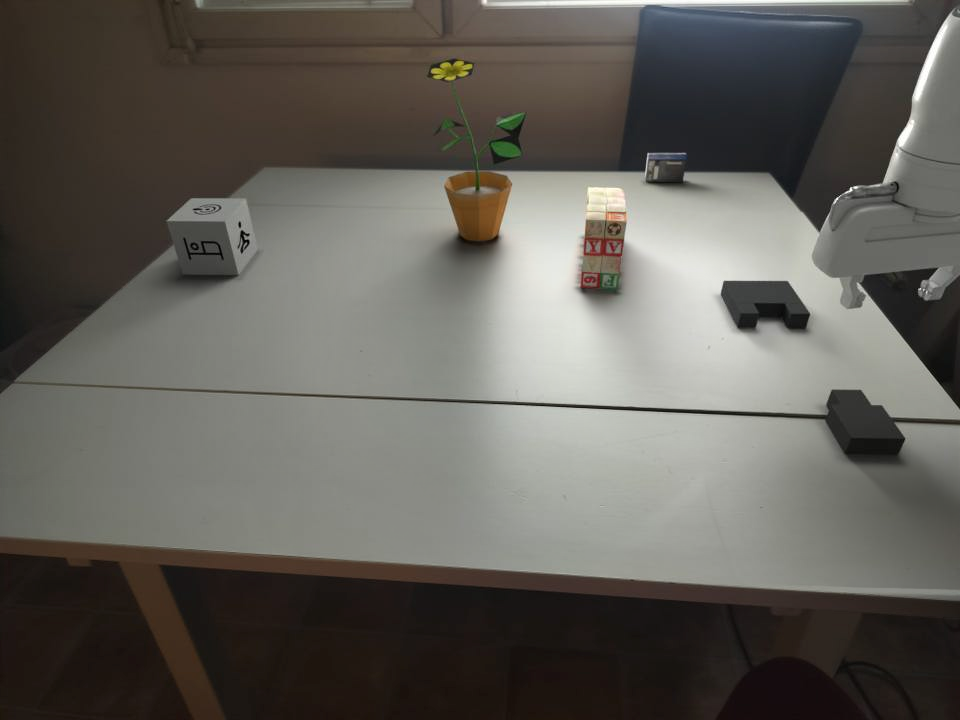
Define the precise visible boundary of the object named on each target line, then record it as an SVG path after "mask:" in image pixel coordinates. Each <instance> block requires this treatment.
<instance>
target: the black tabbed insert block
mask: <svg viewBox="0 0 960 720" xmlns="http://www.w3.org/2000/svg"><path fill="white" fill-rule="evenodd" d="M825 405H826V407H827V409H828V411H827V415H826V418H825V420H824V421H825V422H826V424H827V426H828V427H829V429H830V431H831V433H832V435H833V436H834V438H835V439H836V441H837V443H838V445H839V446H840V447H841V450H842V452H843V454H845V455H882V456H886V455H887V456H888V455H890V456H899V455H900V452H901V450H902V448H903V446H904V443H905V442H906V437H905V435H904V434H903V433H902V431H901V430H900V429H899V427H898V426H897V425H896V423H895V422H894V420H893V418H892V417H891V415H890V414H889V412H887V410H886V408H885V407H884V406H883V404H879V405H878V404H872V403H871V402H870V400H869V399H868V397H867V396H866V395H865V393H864V392H863V390H862V389H834V388H833V389H831V390H830V393H829V396H828V398H827V401H826V404H825Z"/></svg>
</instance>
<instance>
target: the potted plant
mask: <svg viewBox="0 0 960 720" xmlns="http://www.w3.org/2000/svg"><path fill="white" fill-rule="evenodd" d="M474 66H475V62H472V61H468V60H462V59H458V58H451V59H448V60H444V61H440V62H437V63H434V64H433V63H432V64H430V66H429V70H428V72H427V76H426V78H429V79H433V80H436V81H441V82H445V83H449V82H451V85H452V89H453V92H454V98H455V100H456V103H457V106H458V108H459V109H458V110H459V111H460V114H461V117H462V119H463V122H464V124H461V123H458V122H456V121H454V120H452V119H449V118H445V119H444V120H443V121H442V123H441V124H440V125H439V127H438V128H437V130H436V131H435V132H434V133H433V135H432V137H434V136H436V135H438V134H439V133H441V132H442V131H444V130H446V129H447V130H449V132H450V134H451V135H452V136H453V137H454V139H452V140H450V141H449V142H447V143H445V144H444V145H441V147H439V148H437V149H436V150H435V151H433V152H434V153H438V152H444V151H445V150H447V149H449V148H450V147H452V146H454V145H455V144H457V143H458V142H460V141H463V140H469V141H470V144H471V148H472V153H473V157H474V171H464V172H461V173H458V174H454V175H451V176H448V178H447V179H446V181H445V183H444V185H443V188H444V190H445V193H446V196H447V199H448V202H449V205H450V208H451V212H452V215H453V218H454V220H455V223H456V226H457V230H458V232H459V233H458V234H459V235H460V236H461V237H462V238H464V240H466V241H473V242H484V241H489V240H490V241H491V240H493V239H494V238H496V237H497V236H498V235H499V233H500V229H501V225H502V222H503V218H504V215H505V213H506V212H505V211H506V208H507V204H508V201H509V197H510V194H511V190H512V187H513V182H512V181H511V180H510V178H509V177H508V175H506V174H501V173H497V172H494V171H490V170H483V171H481V170H480V171H479V163H478V158H479V157H480V156H481V155H482V154H483V152H484V151H485V150H486V149H487V148H488V146H489V149H490V154H491V158H492V162H493V165H498V164H500V163H503V162H507V161H511V160H513V159H516V158H519V157H523V151H522V146H521V143H520V139H519V137H520V134H521V131H522V128H523V125H524V121H525V118H526V115H527V111H526V112H519V113H511V114H503V115H497V116H496V122H495V127H494V130H493V132H492V134H491V137H490V138H489V141H488V142H487V143H486V144H485V145H484V146H483V147H482V148H481V150H480V151H479V152H478V153H477V151H476V148H475V144H474V139H473V136H472V132H471V129H470V126H469V125H468V121H467V119H466V117H465V114H464V112H463V109H462V106H461V103H460V101H459V98H458V95H457V91H456V88H455V84H454V81H457V80H459V79H463V78H467V77H471V76H472V75H473V71H474ZM462 127H465V128H466V130H467V133H468V136H458V135H457V134H456V133H455V132H454V131H453V130H452V129H451V128H462ZM497 128H500V129H501V130H502V131H504V132H506V134H508V135H506V136H504V137H501V138H498V139H495V140H493V138H494V136H495V133H496V129H497Z"/></svg>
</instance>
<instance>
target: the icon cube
mask: <svg viewBox="0 0 960 720" xmlns="http://www.w3.org/2000/svg"><path fill="white" fill-rule="evenodd" d="M166 224H167V227H168V231H169V234H170V237H171V240H172V244H173V247H174V250H175V253H176V257H177V259H178V264H179V266H180V269H181V272H182V275H185V276H187V275H189V276H240V274H241V273H242V271H244V269H245V268H246V266H247V265H248V264H249V263H250V261H251V260H252V258H253V257H254V256H255V255H256V253H257V252H258V250H259V248H258V244H257V239H256V236H255V231H254V227H253V223H252V218H251V214H250V210H249V205H248V201H247V198H239V197H238V198H237V197H235V198H231V197H230V198H227V197H225V198H223V197H221V198H220V197H217V198H215V197H214V198H213V197H212V198H210V197H209V198H207V197H204V198H201V197H199V198H198V197H194V198H193V197H191V198H190V199H189V200H188V201H186V202H185V203H184V204H183V205H182V206H181V207H180V208H179V209H177V210H176V211H175V212H174V213H173V214H172V215H171V216H170V217H169V218H168V219H167V220H166Z"/></svg>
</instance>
